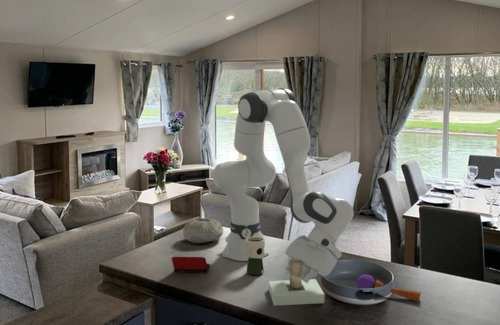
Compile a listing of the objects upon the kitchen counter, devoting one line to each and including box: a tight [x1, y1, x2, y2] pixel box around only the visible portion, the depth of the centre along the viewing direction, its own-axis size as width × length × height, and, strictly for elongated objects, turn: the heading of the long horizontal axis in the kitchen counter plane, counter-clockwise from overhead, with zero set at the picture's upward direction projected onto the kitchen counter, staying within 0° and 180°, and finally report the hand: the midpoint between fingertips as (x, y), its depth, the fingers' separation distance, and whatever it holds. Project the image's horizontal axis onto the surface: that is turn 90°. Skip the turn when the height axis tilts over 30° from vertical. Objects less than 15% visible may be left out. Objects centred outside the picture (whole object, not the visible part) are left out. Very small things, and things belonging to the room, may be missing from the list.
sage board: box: [268, 278, 325, 307], centre depth 154 cm, size 12×16×3 cm
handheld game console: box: [171, 256, 211, 274], centre depth 176 cm, size 12×11×7 cm
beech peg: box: [289, 259, 303, 291], centre depth 153 cm, size 4×4×12 cm
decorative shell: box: [182, 217, 224, 244], centre depth 210 cm, size 18×18×10 cm
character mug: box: [245, 236, 266, 276], centre depth 173 cm, size 11×7×13 cm, turn 149°
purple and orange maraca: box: [356, 273, 422, 303], centre depth 154 cm, size 6×6×20 cm
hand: (295, 276), depth 153 cm, fingers open, 8 cm apart
